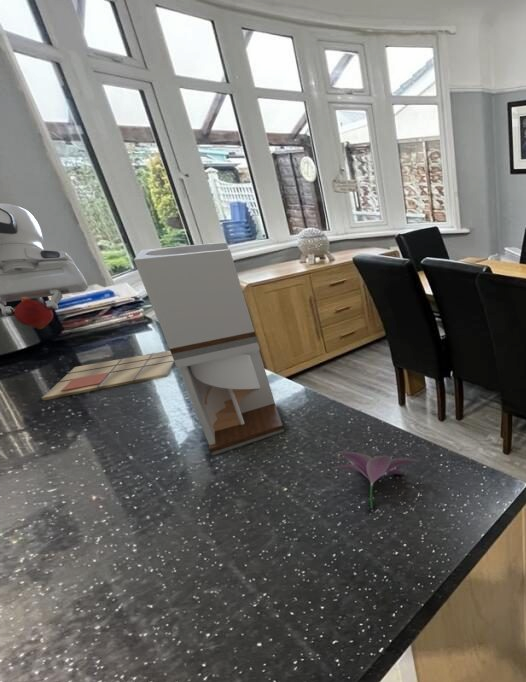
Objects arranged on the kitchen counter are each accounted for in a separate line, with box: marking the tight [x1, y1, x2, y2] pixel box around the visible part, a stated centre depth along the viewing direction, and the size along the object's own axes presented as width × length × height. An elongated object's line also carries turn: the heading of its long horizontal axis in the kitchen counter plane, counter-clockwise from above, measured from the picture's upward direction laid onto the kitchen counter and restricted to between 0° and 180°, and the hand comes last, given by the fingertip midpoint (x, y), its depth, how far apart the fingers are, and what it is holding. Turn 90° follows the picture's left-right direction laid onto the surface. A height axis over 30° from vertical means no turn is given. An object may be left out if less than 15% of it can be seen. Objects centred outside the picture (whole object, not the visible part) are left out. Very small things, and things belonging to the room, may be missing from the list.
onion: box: [14, 297, 54, 330], centre depth 94 cm, size 6×6×8 cm
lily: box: [331, 450, 421, 509], centre depth 59 cm, size 12×12×10 cm
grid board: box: [41, 350, 175, 401], centre depth 100 cm, size 22×18×2 cm
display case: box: [133, 241, 285, 456], centre depth 69 cm, size 11×11×35 cm
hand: (31, 311), depth 93 cm, fingers closed on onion, 5 cm apart
